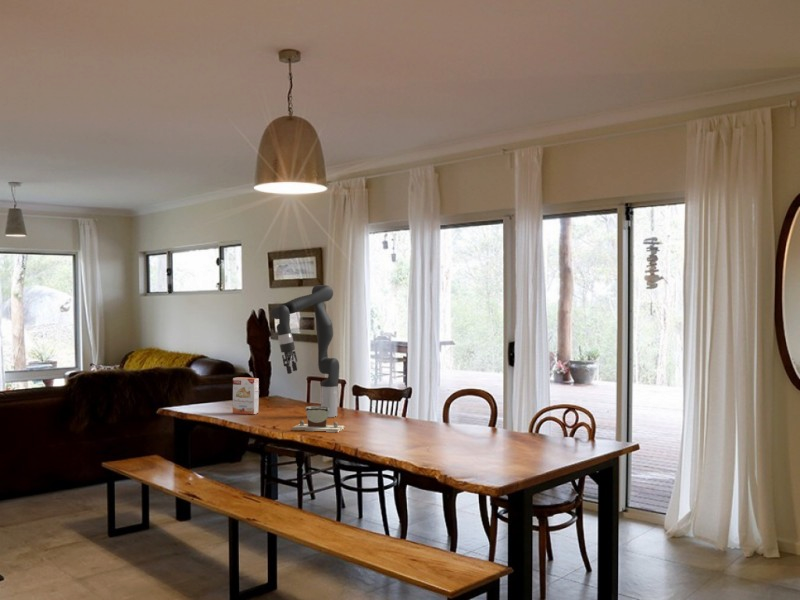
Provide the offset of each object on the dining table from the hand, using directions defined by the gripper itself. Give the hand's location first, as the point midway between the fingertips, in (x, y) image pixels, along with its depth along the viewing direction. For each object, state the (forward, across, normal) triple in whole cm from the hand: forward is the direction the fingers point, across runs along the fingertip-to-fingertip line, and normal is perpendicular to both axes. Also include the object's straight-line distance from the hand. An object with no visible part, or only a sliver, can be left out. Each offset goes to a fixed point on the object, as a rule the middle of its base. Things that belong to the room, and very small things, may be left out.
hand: (292, 372), depth 363 cm
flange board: (+30, -16, -13) cm, 36 cm away
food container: (+28, -15, -13) cm, 35 cm away
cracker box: (+22, +24, +44) cm, 54 cm away
